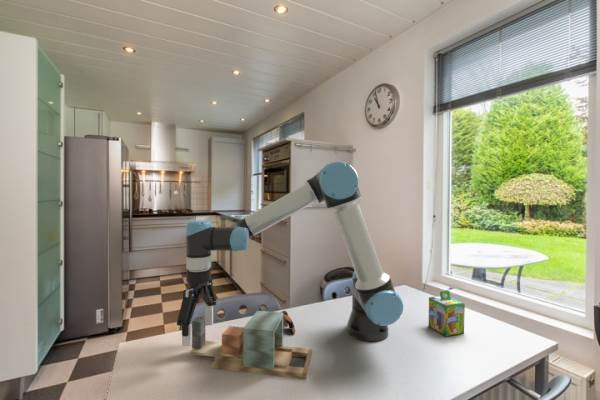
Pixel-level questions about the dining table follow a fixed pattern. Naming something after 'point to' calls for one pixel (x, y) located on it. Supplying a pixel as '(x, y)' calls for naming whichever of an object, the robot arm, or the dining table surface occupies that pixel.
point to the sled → (227, 347)
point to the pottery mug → (288, 321)
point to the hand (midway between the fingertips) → (198, 334)
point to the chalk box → (446, 314)
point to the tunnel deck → (267, 350)
